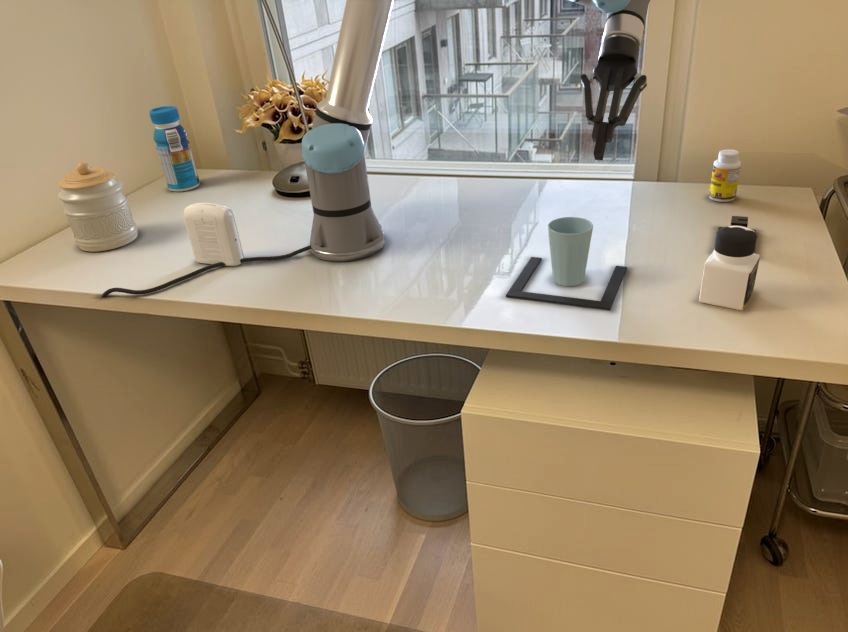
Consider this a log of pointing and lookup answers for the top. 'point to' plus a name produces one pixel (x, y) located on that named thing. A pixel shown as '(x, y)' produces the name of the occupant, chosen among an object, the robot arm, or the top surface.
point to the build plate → (740, 223)
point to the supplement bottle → (725, 176)
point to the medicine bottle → (730, 269)
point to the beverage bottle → (174, 149)
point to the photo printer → (213, 234)
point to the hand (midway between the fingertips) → (598, 156)
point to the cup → (569, 249)
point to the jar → (97, 208)
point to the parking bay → (603, 304)
